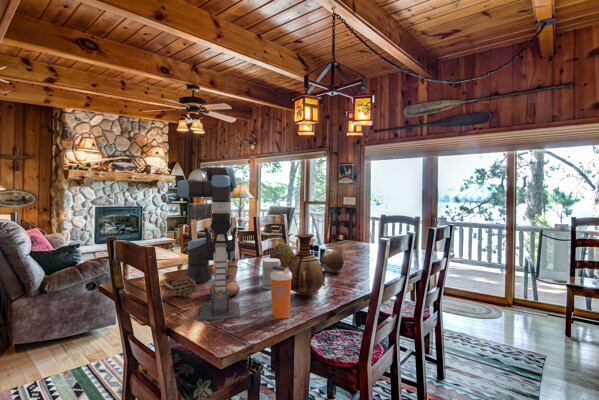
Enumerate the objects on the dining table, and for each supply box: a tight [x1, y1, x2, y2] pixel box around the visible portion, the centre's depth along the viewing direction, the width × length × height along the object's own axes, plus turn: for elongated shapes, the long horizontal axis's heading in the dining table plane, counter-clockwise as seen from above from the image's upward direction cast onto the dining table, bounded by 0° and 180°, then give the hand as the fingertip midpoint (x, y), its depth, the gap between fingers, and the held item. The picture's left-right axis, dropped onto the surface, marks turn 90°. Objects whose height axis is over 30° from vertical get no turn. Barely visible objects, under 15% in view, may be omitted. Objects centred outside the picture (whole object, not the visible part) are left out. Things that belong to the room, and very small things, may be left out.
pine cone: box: [162, 276, 198, 298], centre depth 159 cm, size 22×10×10 cm, turn 67°
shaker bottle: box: [270, 266, 292, 320], centre depth 134 cm, size 9×9×20 cm
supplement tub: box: [261, 257, 280, 291], centre depth 174 cm, size 10×10×15 cm
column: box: [214, 243, 227, 293], centre depth 137 cm, size 5×5×20 cm
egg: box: [268, 242, 296, 267], centre depth 199 cm, size 16×16×20 cm
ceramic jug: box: [208, 263, 241, 298], centre depth 161 cm, size 18×14×14 cm
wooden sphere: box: [320, 248, 345, 274], centre depth 208 cm, size 15×15×15 cm
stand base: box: [198, 289, 242, 321], centre depth 138 cm, size 16×16×9 cm
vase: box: [288, 233, 324, 297], centre depth 160 cm, size 21×18×30 cm
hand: (220, 267), depth 137 cm, fingers closed on column, 4 cm apart
